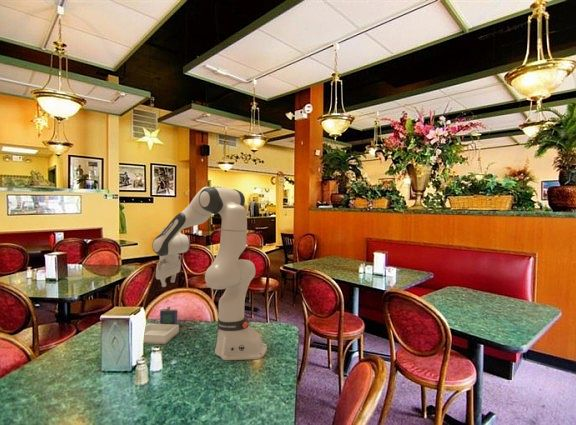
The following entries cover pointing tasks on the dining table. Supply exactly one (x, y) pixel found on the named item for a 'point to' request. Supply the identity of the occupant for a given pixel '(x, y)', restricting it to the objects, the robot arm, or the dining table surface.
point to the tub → (160, 333)
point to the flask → (168, 316)
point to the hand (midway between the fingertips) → (168, 284)
